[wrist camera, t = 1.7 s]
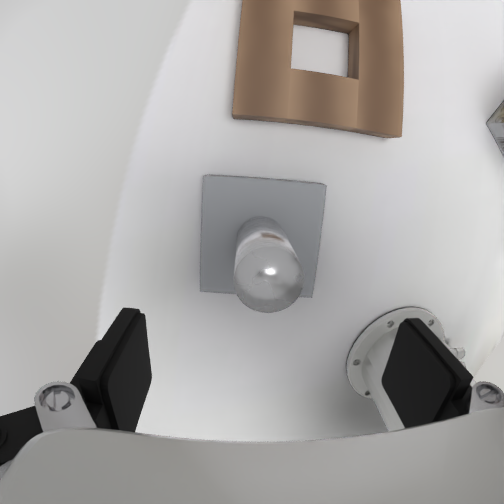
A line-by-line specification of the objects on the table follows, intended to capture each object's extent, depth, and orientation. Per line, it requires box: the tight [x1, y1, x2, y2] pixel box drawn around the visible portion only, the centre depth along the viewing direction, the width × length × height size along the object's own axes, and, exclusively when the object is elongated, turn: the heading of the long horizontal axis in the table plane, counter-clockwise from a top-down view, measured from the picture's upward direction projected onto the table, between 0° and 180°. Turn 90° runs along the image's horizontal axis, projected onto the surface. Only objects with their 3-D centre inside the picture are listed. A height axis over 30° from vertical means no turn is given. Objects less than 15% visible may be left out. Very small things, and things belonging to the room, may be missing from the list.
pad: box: [200, 175, 327, 298], centre depth 27 cm, size 10×10×2 cm
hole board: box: [232, 0, 404, 138], centre depth 22 cm, size 14×14×3 cm
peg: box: [234, 216, 304, 313], centre depth 22 cm, size 4×4×9 cm
